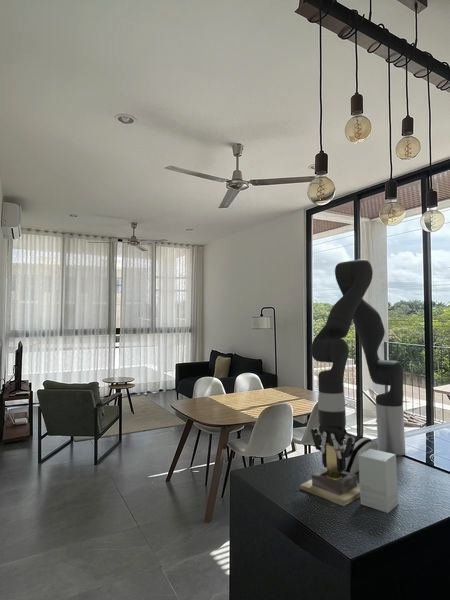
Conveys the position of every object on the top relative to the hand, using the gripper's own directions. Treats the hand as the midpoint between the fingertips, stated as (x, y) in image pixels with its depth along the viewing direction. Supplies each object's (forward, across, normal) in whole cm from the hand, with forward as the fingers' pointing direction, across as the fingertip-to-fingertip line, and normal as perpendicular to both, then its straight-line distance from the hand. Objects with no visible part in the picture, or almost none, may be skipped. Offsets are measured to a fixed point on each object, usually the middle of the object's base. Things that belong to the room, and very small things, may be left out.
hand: (333, 468), depth 106 cm
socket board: (+6, 0, 0) cm, 6 cm away
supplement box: (+6, -12, -1) cm, 14 cm away
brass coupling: (+3, 0, 0) cm, 3 cm away
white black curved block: (+6, +4, -22) cm, 23 cm away
